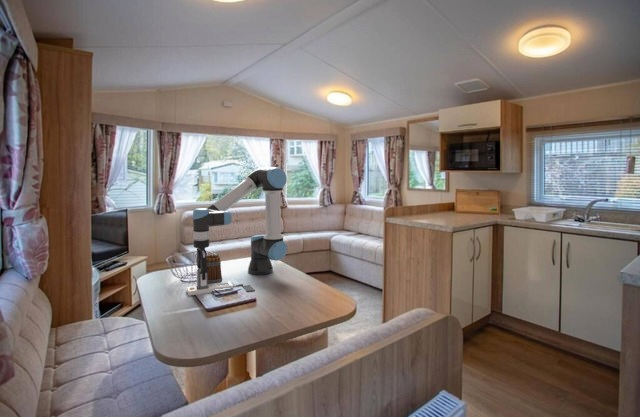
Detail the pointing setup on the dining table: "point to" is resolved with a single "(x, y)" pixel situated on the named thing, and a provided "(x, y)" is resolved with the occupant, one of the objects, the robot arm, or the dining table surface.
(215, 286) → the power strip
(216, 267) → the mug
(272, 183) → the robot arm
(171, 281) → the dining table surface
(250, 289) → the mat
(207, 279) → the charger
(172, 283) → the dining table surface
